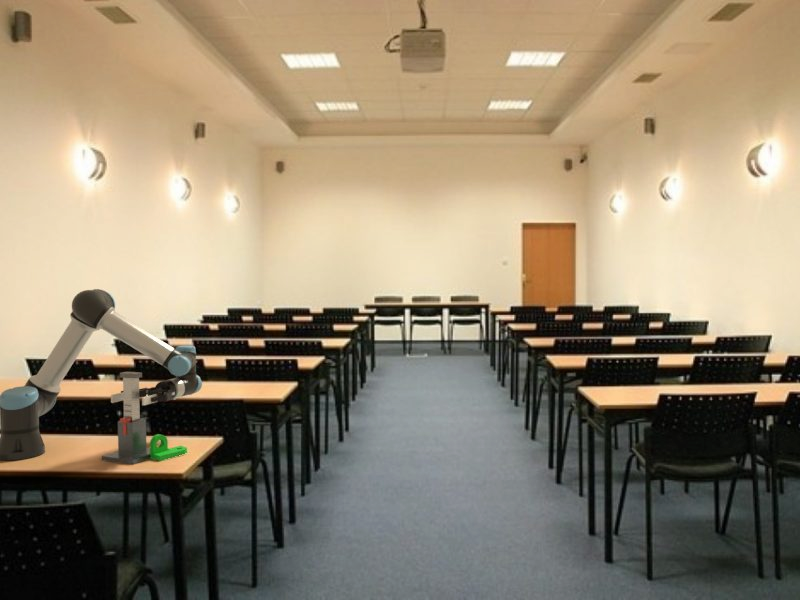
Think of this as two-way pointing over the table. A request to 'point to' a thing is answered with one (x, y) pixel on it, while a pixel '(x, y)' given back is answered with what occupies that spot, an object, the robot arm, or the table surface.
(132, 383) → the column
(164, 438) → the mechanical part
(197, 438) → the table surface
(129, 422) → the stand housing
